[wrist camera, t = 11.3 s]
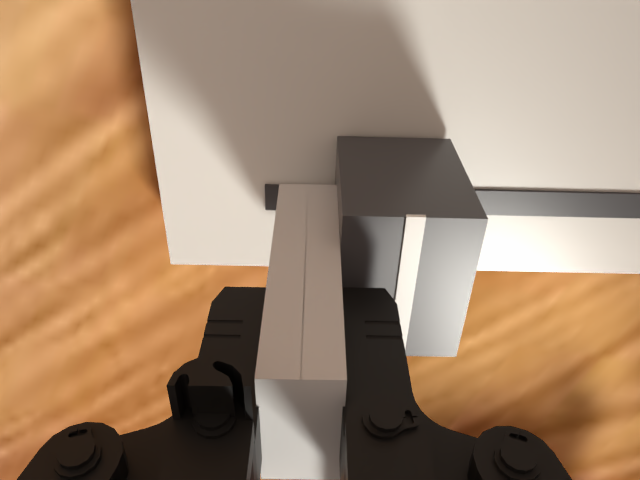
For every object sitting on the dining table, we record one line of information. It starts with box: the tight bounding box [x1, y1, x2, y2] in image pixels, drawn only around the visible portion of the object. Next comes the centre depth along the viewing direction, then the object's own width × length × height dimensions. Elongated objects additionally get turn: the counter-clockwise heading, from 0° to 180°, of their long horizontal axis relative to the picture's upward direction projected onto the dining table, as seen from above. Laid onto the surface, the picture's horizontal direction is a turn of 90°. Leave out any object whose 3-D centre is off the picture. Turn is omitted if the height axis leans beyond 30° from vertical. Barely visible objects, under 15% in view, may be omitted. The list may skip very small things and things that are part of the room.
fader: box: [335, 136, 488, 357], centre depth 14 cm, size 3×4×4 cm
